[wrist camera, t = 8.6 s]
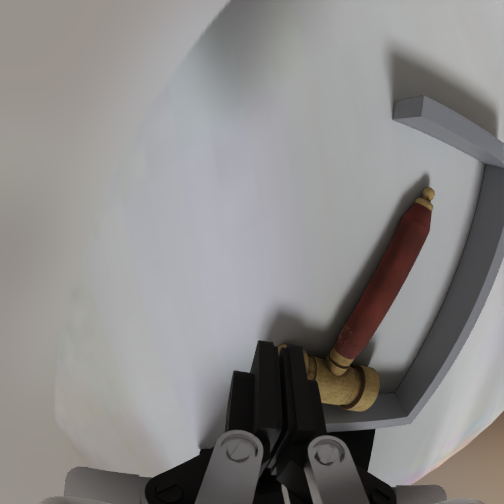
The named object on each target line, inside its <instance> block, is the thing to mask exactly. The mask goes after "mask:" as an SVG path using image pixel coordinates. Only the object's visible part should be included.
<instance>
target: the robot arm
mask: <svg viewBox="0 0 504 504" xmlns="http://www.w3.org/2000/svg"><path fill="white" fill-rule="evenodd" d="M265 467H266V468H271V475H277V480H278V481H279V482H280V483H281V484H282V492H283V497H284V501H285V504H484V503H483V502H482V501H480V500H476V499H470V498H456V499H450V500H447V498H446V497H447V496H446V493H445V491H444V489H443V488H442V487H440V486H439V485H414V486H413V485H397V486H395V487H390V486H389V485H388V484H386V483H385V482H383V481H381V480H380V479H378V478H376V477H375V476H373V475H372V474H370V473H369V472H367V471H365V470H364V469H362V468H361V467H359V466H358V465H356V464H355V463H354V462H353V459H352V456H351V454H350V451H349V449H348V447H347V446H346V444H345V443H344V442H343V441H342V440H340V439H338V438H336V437H333V436H328V435H327V429H326V424H325V418H324V413H323V407H322V402H321V397H320V392H319V386H318V383H317V381H316V380H310V379H308V378H307V372H306V366H305V360H304V354H303V348H302V346H298V345H290V344H288V345H287V346H286V348H284V347H282V348H281V350H280V353H278V347H276V346H273V342H267V341H260V340H259V341H258V344H257V347H256V351H255V355H254V359H253V363H252V367H251V371H250V373H247V372H240V371H234V372H233V377H232V382H231V387H230V393H229V400H228V408H227V417H226V425H225V433H223V434H222V435H221V436H220V437H219V438H218V440H217V442H216V444H215V447H213V448H211V449H209V450H208V451H206V452H204V453H202V454H200V455H198V456H196V457H194V458H193V459H191V460H189V461H187V462H185V463H183V464H181V465H179V466H176V467H174V468H172V469H170V470H168V471H166V472H164V473H161V474H159V475H157V476H155V477H153V478H150V477H140V476H139V475H136V474H126V473H118V472H111V471H105V470H99V469H93V468H88V467H76V468H73V469H71V470H70V471H69V472H68V474H67V477H66V480H65V490H64V496H62V497H50V498H47V499H44V500H43V501H41V502H40V503H39V504H252V503H253V499H254V494H255V490H256V485H257V480H258V479H259V477H260V476H261V474H262V472H263V471H264V469H265Z"/></svg>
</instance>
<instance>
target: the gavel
mask: <svg viewBox="0 0 504 504" xmlns="http://www.w3.org/2000/svg"><path fill="white" fill-rule="evenodd" d="M434 195H435V192H434V190H433V189H432V188H429V187H426V188H425V189H424V190H423V196H422V198H417V199H416V200H415V203H414V204H413V205H412V206H411V207H410V208H409V209H408V210H407V211H406V213H405V214H404V215H403V216H402V217H401V220H400V222H399V224H398V226H397V228H396V230H395V233H394V235H393V237H392V239H391V241H390V243H389V245H388V247H387V249H386V251H385V253H384V255H383V257H382V259H381V261H380V263H379V265H378V267H377V269H376V271H375V273H374V274H373V276H372V278H371V280H370V282H369V284H368V286H367V287H366V289H365V291H364V293H363V295H362V296H361V298H360V300H359V302H358V303H357V305H356V307H355V309H354V310H353V312H352V314H351V315H350V317H349V319H348V320H347V322H346V324H345V325H344V327H343V329H342V330H341V332H340V334H339V336H338V339H337V341H336V343H335V346H334V347H333V349H332V350H331V352H330V354H328V356H327V357H326V359H321V358H318V357H314V356H309V357H308V356H307V353H306V352H305V351H304V350H303V354H304V360H305V366H306V372H307V378H308V379H310V380H316V381H317V383H318V386H319V392H320V397H321V402H322V403H327V404H333V405H339V406H340V407H341V408H342V409H345V410H351V411H359V412H361V411H365V410H367V409H368V408H369V407H370V406H371V405H372V404H373V403H374V401H375V400H376V398H377V395H378V392H379V387H380V379H379V375H378V373H377V371H376V370H375V369H373V368H371V367H366V366H362V365H358V364H354V365H352V366H351V367H350V366H349V365H350V364H351V363H352V361H353V360H354V359H355V358H356V356H357V355H358V354H359V353H360V352H361V351H362V350H363V349H364V348H365V346H366V345H367V343H368V342H369V340H370V339H371V337H372V336H373V334H374V333H375V331H376V330H377V328H378V326H379V325H380V323H381V322H382V320H383V318H384V317H385V315H386V313H387V312H388V310H389V308H390V307H391V305H392V303H393V301H394V300H395V298H396V296H397V294H398V293H399V291H400V289H401V287H402V285H403V284H404V282H405V280H406V278H407V276H408V274H409V272H410V270H411V268H412V266H413V265H414V263H415V261H416V259H417V257H418V255H419V252H420V250H421V248H422V246H423V244H424V242H425V240H426V238H427V236H428V233H429V231H430V222H431V212H432V209H433V205H432V204H431V203H430V202H431V200H432V199H433V198H434ZM286 346H287V345H285V344H282V345H280V346H279V347H278V353H280V350H281V348H282V347H284V348H286Z"/></svg>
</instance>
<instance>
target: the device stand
mask: <svg viewBox="0 0 504 504" xmlns="http://www.w3.org/2000/svg"><path fill="white" fill-rule="evenodd" d="M327 435H328V436H333V437H336V438H338V439H340V440H342V441H343V442H344V443H345V444H346V446H347V447H348V449H349V451H350V454H351V456H352V459H353V462H354V463H355V464H356V465H358V466H359V467H361V468H362V469H364V470H365V471H368V466H369V462H370V457H371V452H372V446H373V441H374V435H375V429H366V430H354V431H338V432H330V433H327ZM208 450H209V449H202V450H201V451H200V454H202V453H204V452H206V451H208ZM252 504H285V501H284V497H283V492H282V484H281V483H280V482H279V481H278V480H277V475H271V468H266V467H265V469H264V471H263V472H262V474H261V476H260V477H259V479H258V480H257V485H256V490H255V494H254V499H253V503H252Z"/></svg>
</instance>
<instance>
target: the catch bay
mask: <svg viewBox="0 0 504 504" xmlns="http://www.w3.org/2000/svg"><path fill="white" fill-rule="evenodd" d="M393 120H395V121H397V122H400V123H402V124H405V125H407V126H410V127H412V128H414V129H417V130H419V131H421V132H423V133H426V134H428V135H430V136H432V137H434V138H437V139H439V140H441V141H443V142H445V143H447V144H449V145H451V146H453V147H455V148H457V149H459V150H461V151H463V152H464V153H466V154H468V155H470V156H472V157H474V158H475V159H477V160H479V161H481V162H482V163H484V164H486V167H485V173H484V178H483V183H482V187H481V192H480V196H479V201H478V205H477V209H476V212H475V216H474V220H473V223H472V227H471V230H470V233H469V237H468V240H467V243H466V246H465V249H464V252H463V255H462V258H461V261H460V263H459V266H458V269H457V272H456V274H455V277H454V279H453V282H452V284H451V287H450V289H449V292H448V294H447V296H446V299H445V301H444V303H443V305H442V308H441V310H440V312H439V314H438V316H437V318H436V321H435V323H434V325H433V327H432V329H431V331H430V333H429V335H428V337H427V339H426V340H425V342H424V344H423V346H422V348H421V350H420V352H419V353H418V355H417V357H416V359H415V361H414V362H413V364H412V366H411V367H410V369H409V371H408V372H407V374H406V376H405V377H404V379H403V381H402V382H401V384H400V385H399V387H398V389H397V390H396V392H395V393H380V394H378V395H377V398H376V400H375V401H374V403H373V404H372V405H371V406H370V407H369V408H368V409H367V410H365V411H361V412H359V411H351V410H345V409H342V408H341V407H340V406H339V405H333V404H327V403H322V407H323V413H324V418H325V424H326V429H327V432H338V431H354V430H366V429H376V428H385V427H392V426H399V425H406V424H411V423H412V421H413V420H414V419H415V418H416V416H417V415H418V414H419V412H420V411H421V410H422V408H423V407H424V406H425V404H426V403H427V402H428V400H429V399H430V398H431V396H432V395H433V393H434V392H435V391H436V389H437V388H438V386H439V385H440V383H441V382H442V380H443V379H444V377H445V376H446V374H447V373H448V371H449V369H450V368H451V366H452V365H453V363H454V361H455V360H456V358H457V356H458V355H459V353H460V351H461V349H462V348H463V346H464V344H465V342H466V340H467V339H468V337H469V335H470V333H471V331H472V329H473V327H474V325H475V323H476V321H477V319H478V317H479V315H480V313H481V311H482V309H483V307H484V304H485V302H486V300H487V298H488V295H489V293H490V291H491V288H492V286H493V283H494V281H495V278H496V276H497V273H498V271H499V268H500V265H501V262H502V260H503V257H504V143H503V142H501V141H500V140H499V139H497V138H496V137H494V136H493V135H491V134H490V133H488V132H487V131H485V130H484V129H482V128H481V127H479V126H478V125H476V124H475V123H473V122H471V121H470V120H468V119H467V118H465V117H463V116H462V115H460V114H458V113H456V112H455V111H453V110H451V109H449V108H447V107H446V106H444V105H442V104H440V103H438V102H436V101H434V100H432V99H430V98H428V97H426V96H424V95H423V96H418V97H413V98H409V99H404V100H400V101H395V107H394V113H393Z"/></svg>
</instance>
